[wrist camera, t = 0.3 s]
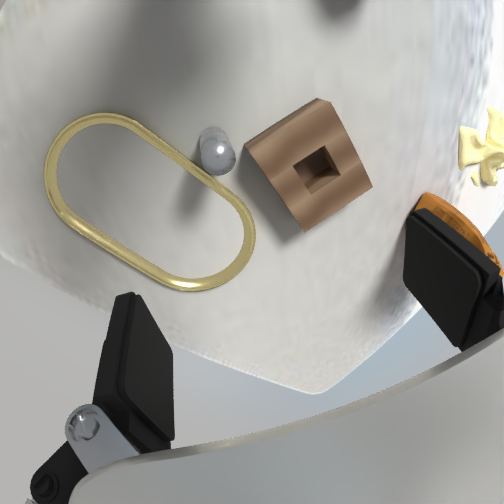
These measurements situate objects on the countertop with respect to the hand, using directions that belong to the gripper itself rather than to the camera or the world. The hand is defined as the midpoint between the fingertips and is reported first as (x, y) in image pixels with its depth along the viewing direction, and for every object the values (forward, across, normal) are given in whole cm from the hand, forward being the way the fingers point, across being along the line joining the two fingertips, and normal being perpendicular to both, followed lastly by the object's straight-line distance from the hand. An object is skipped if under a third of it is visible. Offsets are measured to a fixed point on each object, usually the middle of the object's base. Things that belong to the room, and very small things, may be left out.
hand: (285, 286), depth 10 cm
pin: (+35, +1, +2) cm, 35 cm away
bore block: (+35, -11, +8) cm, 37 cm away
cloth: (+36, -52, +14) cm, 64 cm away
